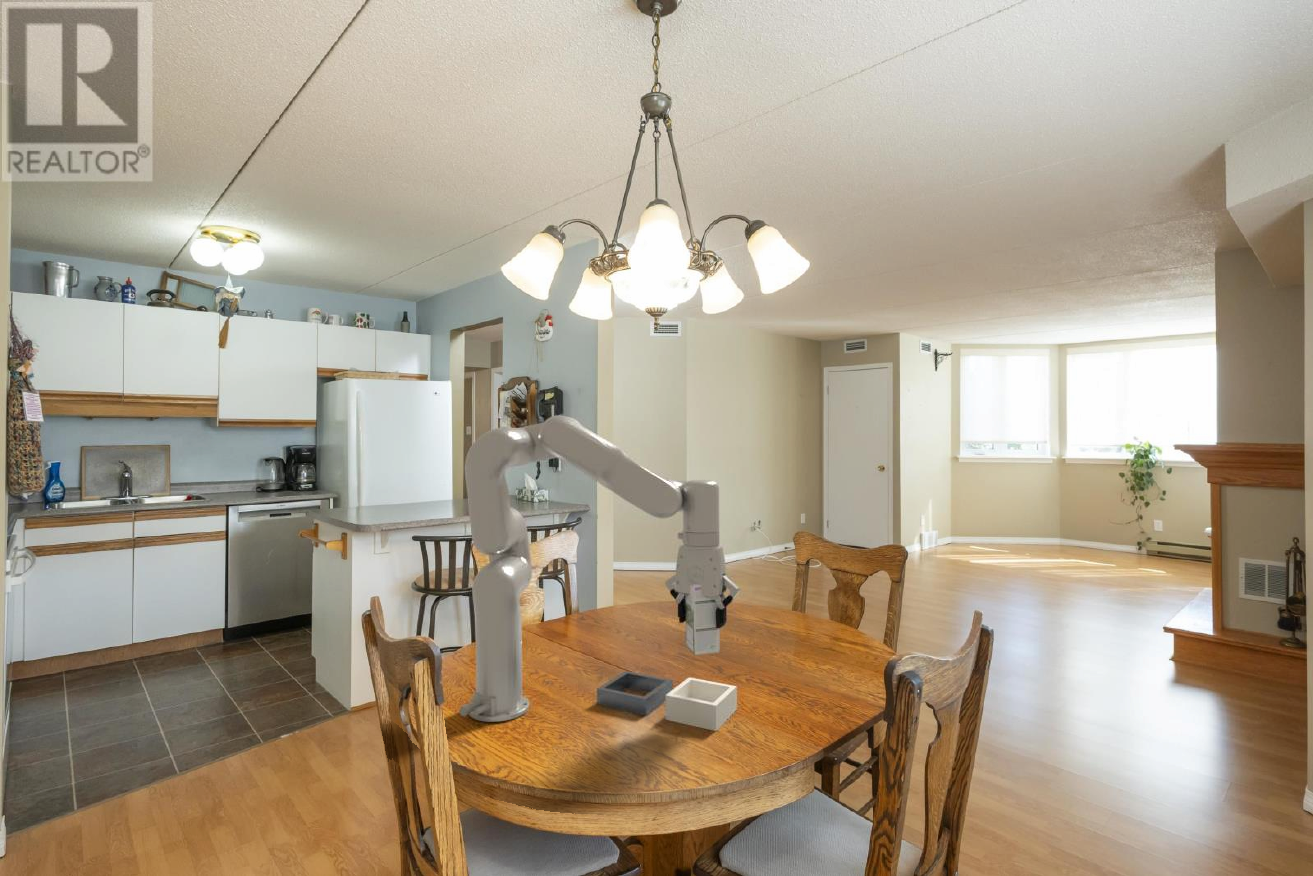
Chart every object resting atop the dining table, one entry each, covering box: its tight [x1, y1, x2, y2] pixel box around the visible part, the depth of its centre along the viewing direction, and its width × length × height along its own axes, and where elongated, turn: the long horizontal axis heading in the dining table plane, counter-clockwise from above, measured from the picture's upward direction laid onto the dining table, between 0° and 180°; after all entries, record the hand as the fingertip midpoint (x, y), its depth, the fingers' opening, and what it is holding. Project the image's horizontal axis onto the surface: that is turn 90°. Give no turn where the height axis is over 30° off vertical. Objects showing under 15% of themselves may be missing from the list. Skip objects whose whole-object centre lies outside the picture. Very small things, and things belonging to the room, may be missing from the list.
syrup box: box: [685, 584, 721, 656], centre depth 134 cm, size 6×6×14 cm
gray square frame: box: [596, 670, 674, 717], centre depth 142 cm, size 12×12×4 cm
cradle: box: [665, 677, 738, 732], centre depth 134 cm, size 11×11×5 cm
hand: (701, 623), depth 134 cm, fingers closed on syrup box, 7 cm apart
